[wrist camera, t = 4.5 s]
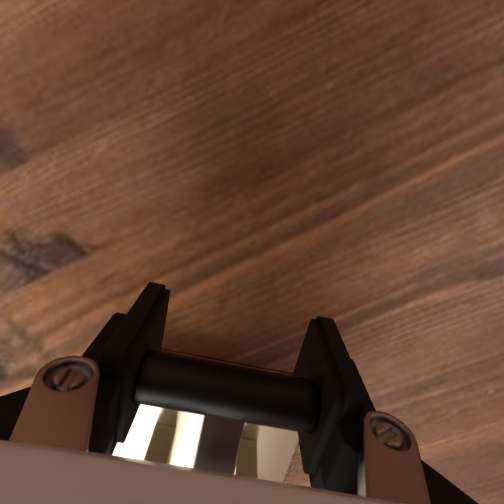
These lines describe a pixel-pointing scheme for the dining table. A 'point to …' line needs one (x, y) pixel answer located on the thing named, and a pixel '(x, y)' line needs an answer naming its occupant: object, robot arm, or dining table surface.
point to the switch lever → (226, 401)
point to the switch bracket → (187, 434)
